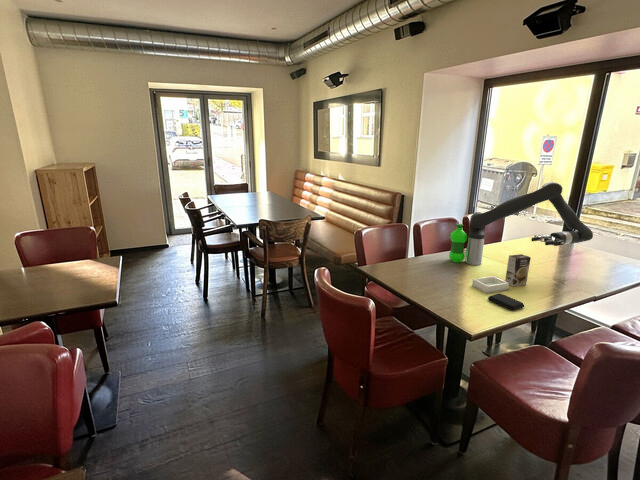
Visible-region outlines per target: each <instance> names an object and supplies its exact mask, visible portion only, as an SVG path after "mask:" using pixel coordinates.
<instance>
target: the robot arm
mask: <svg viewBox="0 0 640 480" xmlns="http://www.w3.org/2000/svg"><path fill="white" fill-rule="evenodd" d="M562 193H563V186H562V185H561V184H560V183H558V182H554V181H548V182H545V183H544V184H543V185H542V187H541V188H539V189H537V190H534V191H532V192H529V193H524V194H519V195H518V196H514V197H512V198H509V199H508V200H507V199H506V200H505V201H503V202H502V203H500V204H499V205H497V206H496V207H494V208H492V209H491V210H488V211H485V212H480V211H477V212H474V213H472V214H471V216H470V219H469V229H468V239H467V241H468V242H467V247H466V249H465V257H464V262H466V264H468V265H472V266H479V265H482V261H483V254H484V253H483V252H484V247H485V246H484V245H485V237H486V236H485V235H486V226H488V225H490V224H492V223H495V222H496V221H499V220H501V219H504V218H508V217H510V216H512V215H515V214H518V213H521V212H524V211H525V210H527V209H529V208H531V207H533V206H535V205H537V204H540V203H543V202H546V201H548V202H550V203H551V204H552V206H553V207H554V209H555V210H556V212H557V213H558V215H559V217H560V218H561V219H562V221H563V222H564V225H566V227H567V228H568V229H569V230H570V231H569V230H568V231H556V232H552V233H550V234H549V235H544V234H536V235H535V234H534V235H533V236H534V237H531V239H530V241H531V242H541V243H544V245H545V246H554V247H559V246H565V245H569V244H577V243H578V244H579V243H583V242H587V241H591V240H592V239H593V238H594V234H593V231H592V230H591V229H590V227H588V226H587V225H585V223H584V222H582V221H581V219H580V218H579V217H578V215H577V214H576V212H575V211H574V210H573V208H571V206H570V205H569V204H568V202H567V201H566V200H565V199H564V196H563V195H562ZM573 230H574V231H573Z"/></svg>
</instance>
